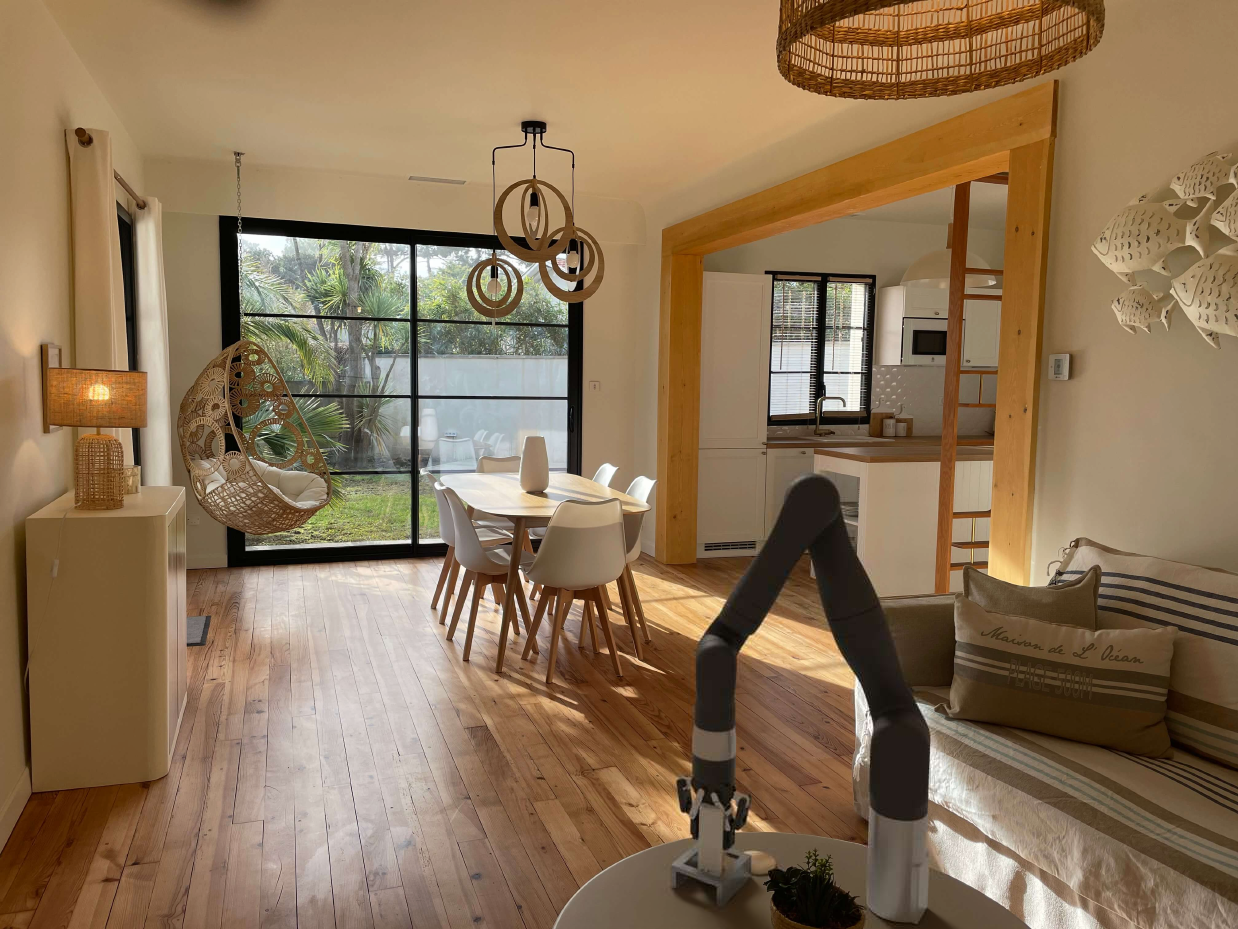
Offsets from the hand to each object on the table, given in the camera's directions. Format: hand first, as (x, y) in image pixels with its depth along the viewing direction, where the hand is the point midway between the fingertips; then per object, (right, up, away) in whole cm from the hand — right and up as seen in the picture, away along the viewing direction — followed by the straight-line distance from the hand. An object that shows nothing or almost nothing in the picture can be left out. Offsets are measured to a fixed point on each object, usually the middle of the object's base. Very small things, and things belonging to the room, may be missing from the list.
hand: (711, 842), depth 153 cm
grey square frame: (0, -7, 0) cm, 7 cm away
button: (0, -6, 0) cm, 6 cm away
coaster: (+9, -7, +6) cm, 13 cm away
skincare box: (0, -5, 0) cm, 5 cm away
